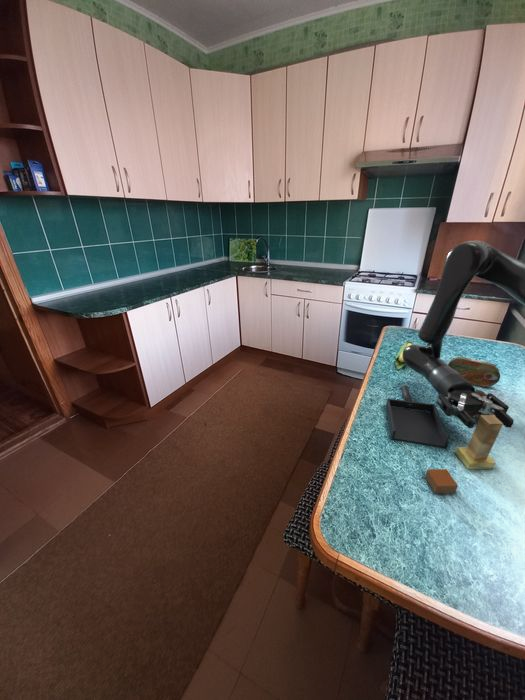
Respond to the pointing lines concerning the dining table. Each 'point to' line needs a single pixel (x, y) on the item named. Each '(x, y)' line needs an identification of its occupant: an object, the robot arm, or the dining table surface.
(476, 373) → the tin
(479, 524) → the dining table surface
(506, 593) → the dining table surface
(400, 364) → the edible corn
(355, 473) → the dining table surface
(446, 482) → the brown square block
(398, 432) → the pan
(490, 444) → the pillar on square base
